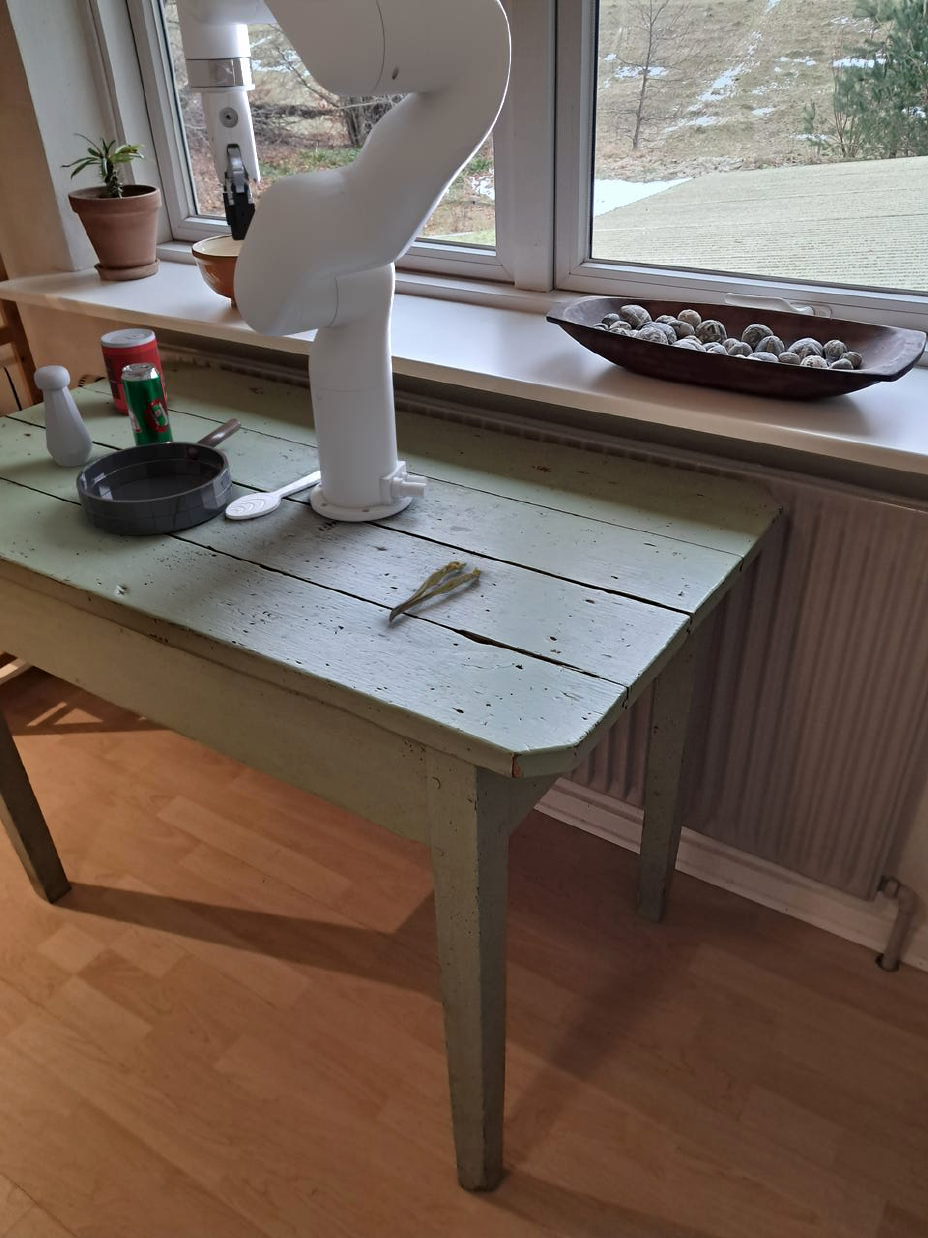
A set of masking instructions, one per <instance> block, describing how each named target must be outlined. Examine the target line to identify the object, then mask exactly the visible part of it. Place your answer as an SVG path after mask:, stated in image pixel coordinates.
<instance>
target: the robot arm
mask: <svg viewBox="0 0 928 1238" xmlns="http://www.w3.org/2000/svg"><path fill="white" fill-rule="evenodd" d="M174 1H175V6H176V13H177V19H178V24H179V32H180V37H181V44H182V50H183V56H184V61H185V69H186V76H187V81H188V83H187V84H188V89H189V93H195V94H200V97H201V105H202V110H203V117H204V122H205V127H206V128H205V129H206V135H207V140H208V144H209V149H210V153H211V155H210V156H211V158H212V162H213V167H214V170H215V173H216V176H217V180H218V181H219V183H220V184H221V185H222V190H223V192H221V193H222V200H223V207H224V213H225V221H226V224H227V226H228V227H230V232H231V239H232V240H233V241H235V242H237V241H243V242H242V244H241V246H240V249H239V252H238V255H237V259H236V260H235V261H236V262H235V267H234V274H233V296H234V300H235V304H236V307H237V310H238V312H239V314H240V316H241V318H242V319H243V321H244V322H245V324H246V325H247V326H248V327H249V328H250V329H251V330H253V331H254V332H256V333H257V334H260V335H262V336H265V337H270V338H271V337H272V338H277V337H279V338H280V337H285V336H290V335H296V334H299V333H305V332H310V331H313V330H317V331H316V333H315V336H314V338H313V341H312V343H311V347H310V351H309V355H308V375H309V377H308V378H309V387H310V395H311V404H312V410H313V411H312V413H313V422H314V431H315V438H316V439H315V440H316V448H317V458H318V465H319V470H320V476H321V482H319V483H316V484H315V486H314V487H313V488H312V490H311V491H310V494H309V500H310V505H311V507H312V509H313V510H314V511H315V512H316V513H317V514H319V515H321V516H323V517H325V518H328V519H332V520H337V521H341V522H369V521H376V520H380V519H383V518H384V519H385V518H387V517H390V516H393V515H396V514H397V513H400V512H401V511H403V510H404V509H405V508H407V507H408V506H409V505H410V503H411V502H412V500H413V499H415V500H423V501H427V500H428V499H429V495H430V484H428V483H427V482H428V479H427V476H423V475H421V476H420V475H412V474H411V475H410V473H409V472H407V465H406V464H407V463H406V461H403V460H398V447H397V446H398V445H397V443H398V442H397V431H396V430H397V429H396V413H395V412H396V411H395V399H394V385H393V384H394V383H393V381H394V380H393V365H392V346H391V345H392V341H391V336H392V335H391V331H392V315H393V306H394V298H395V297H394V296H395V289H396V269H395V263H396V262H397V261H399V260H400V259H401V258H403V257H404V255H405V254H406V253H407V252H408V251H409V249H410V248H411V246H412V245H413V243H414V242H415V241H416V239H417V238H418V236H419V234H420V233H421V232H422V230H423V228H424V227H425V225H426V224H427V222H428V221H429V219H430V218H431V216H432V215H433V213H434V212H435V210H436V209H437V207H438V206H439V204H440V202H441V201H442V199H443V197H444V196H445V194H446V192H447V191H448V189H449V188H450V186H451V185H452V183H453V182H454V181H455V179H456V178H457V177H458V175H460V173H461V172H462V170H464V168H465V167H466V166H467V164H468V163H469V162H470V161H471V159H472V158H473V157H474V156H475V155H476V153H477V152H478V150H479V149H480V148H481V146H482V145H483V143H484V142H485V141H486V139H487V138H488V136H489V134H490V133H491V131H492V129H493V127H494V126H495V123H496V121H497V119H498V117H499V114H500V112H501V109H502V107H503V105H504V102H505V97H506V94H507V90H508V86H509V79H510V71H511V61H512V38H511V32H510V25H509V21H508V16H507V14H506V12H505V9H504V8H503V5H502V3H501V1H500V0H174ZM266 24H268V25H270V24H272V25H273V24H278V25H279V27H280V29H281V30H282V32H283V34H284V35H285V37H286V38H287V40H288V41H289V43H290V45H291V47H292V48H293V50H294V52H295V53H296V54H297V56H298V58H299V59H300V62H302V64H303V66H304V67H305V69H306V70H307V72H308V74H309V75H310V76H311V77H312V78H313V80H314V81H315V82H316V83H317V84H318V85H319V86H320V87H321V88H323V90H326V91H327V92H328V93H331V94H332V95H334V96H338V97H342V98H366V97H378V96H379V97H380V96H390V95H402V94H403V95H404V94H407V95H405V97H403V98H402V99H401V100H400V101H398V103H396V104H395V105H394V106H392V107H391V108H390V109H389V110H388V111H387V112H386V113H384V114H383V115H382V116H381V118H379V119H378V121H376V123H375V124H374V126H373V127H372V128H371V129H370V131H369V132H368V134H367V137H366V138H365V141H364V142H363V146H362V147H361V149H360V150H359V152H358V153H357V155H356V157H355V158H354V160H353V161H352V162H351V163H349V164H346V165H343V166H339V167H334V168H330V169H323V170H315V171H308V172H300V173H295V174H290V175H287V176H284V177H281V178H280V179H278V180H276V181H275V182H273V183H272V184H270V185H269V187H267V188H266V189H265V191H263V194H262V195H261V197H260V199H259V201H258V204H257V205H256V204H255V202H254V201H253V195H252V189H251V188H252V187H251V184H250V180H252V181H253V182H254V183H255V184H259V183H260V181H261V173H260V165H259V160H258V154H257V148H256V147H257V146H256V140H255V133H254V127H253V119H252V111H251V106H250V102H249V98H248V92H247V91H253V90H255V89H256V86H255V78H254V69H253V62H252V57H251V48H250V39H249V32H248V26H249V25H266Z"/></svg>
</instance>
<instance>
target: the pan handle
mask: <svg viewBox="0 0 928 1238" xmlns="http://www.w3.org/2000/svg"><path fill="white" fill-rule="evenodd" d="M241 427H242V423H241V421H240V420H239V419H237V418H231V419H229V420H228V421H226V422H225V423H223V424H221V425H220V426H218V427H217V428H216V429H214V430H213V431H212V432H210V433H208V434H207V435H205V436H204V437H202V438H201V439H199V440H198V441H197V442H196V443H199V444H204V445H207V446H211V447H214V448H216V447H218V446H219V445H220V444H222V443H223V442H224V441H226V440H227V439H229V438H231V436H233V435H234V434H236V433H238V431H239V430H241ZM187 453H188V456H189V457H190V458H191V459H194V460H196V459H198V458H199V453H198V451H197V450H196V449H195V448H193V447H191V448H189V449H188V451H187Z"/></svg>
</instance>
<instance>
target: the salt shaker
mask: <svg viewBox="0 0 928 1238" xmlns="http://www.w3.org/2000/svg"><path fill="white" fill-rule="evenodd" d="M33 381H34V383H35V386H36V387H37V388H38V389H39V390H42V397H43V411H44V426H45V441H46V449H47V451H48V453H49V454H50V455H51V457H52V458H53V459H54V461H55V462H56V463H57V465H58V466H59V467H66V468H74V467H78V466H81V465H85V464H86V463H87V462H88V461H89V460H90V459H91V455H92V449H93V439H92V437H91V435H90V432H89V430H88V429H87V426H86V424H85V422H84V420H83V417H82V416H81V413H80V411H79V408H78V407H77V405H76V402H75V400H74V398H73V396H72V394H71V392H70V389H69V388H68V385H69V384H70V383H71V377H70V373H69V371H68V370H67V369H66V368H65V367H64V366H62V365H46V366H42V367H40V368H38V369H36V370H35V371H34V373H33Z"/></svg>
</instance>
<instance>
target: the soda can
mask: <svg viewBox="0 0 928 1238" xmlns="http://www.w3.org/2000/svg"><path fill="white" fill-rule="evenodd" d="M122 372H123V374H122V376H121V381H122V385H123V390H124V394H125V399H126V403H127V408H128V412H129V414H128V417H129V421H130V426H131V430H132V435H133V440H134V444H135V446H138V445H144V444H151V443H159V442H175V441H174V436H173V431H172V427H171V422H170V416H169V411H168V407H167V402H166V401H165V396H164V391H163V386H162V381H161V376H160V372H159V371H158V370H157V369H156V366H155V365H154V364H152V363H136V364H131V365H128V366H126V367H124V368H123V369H122Z"/></svg>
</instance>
